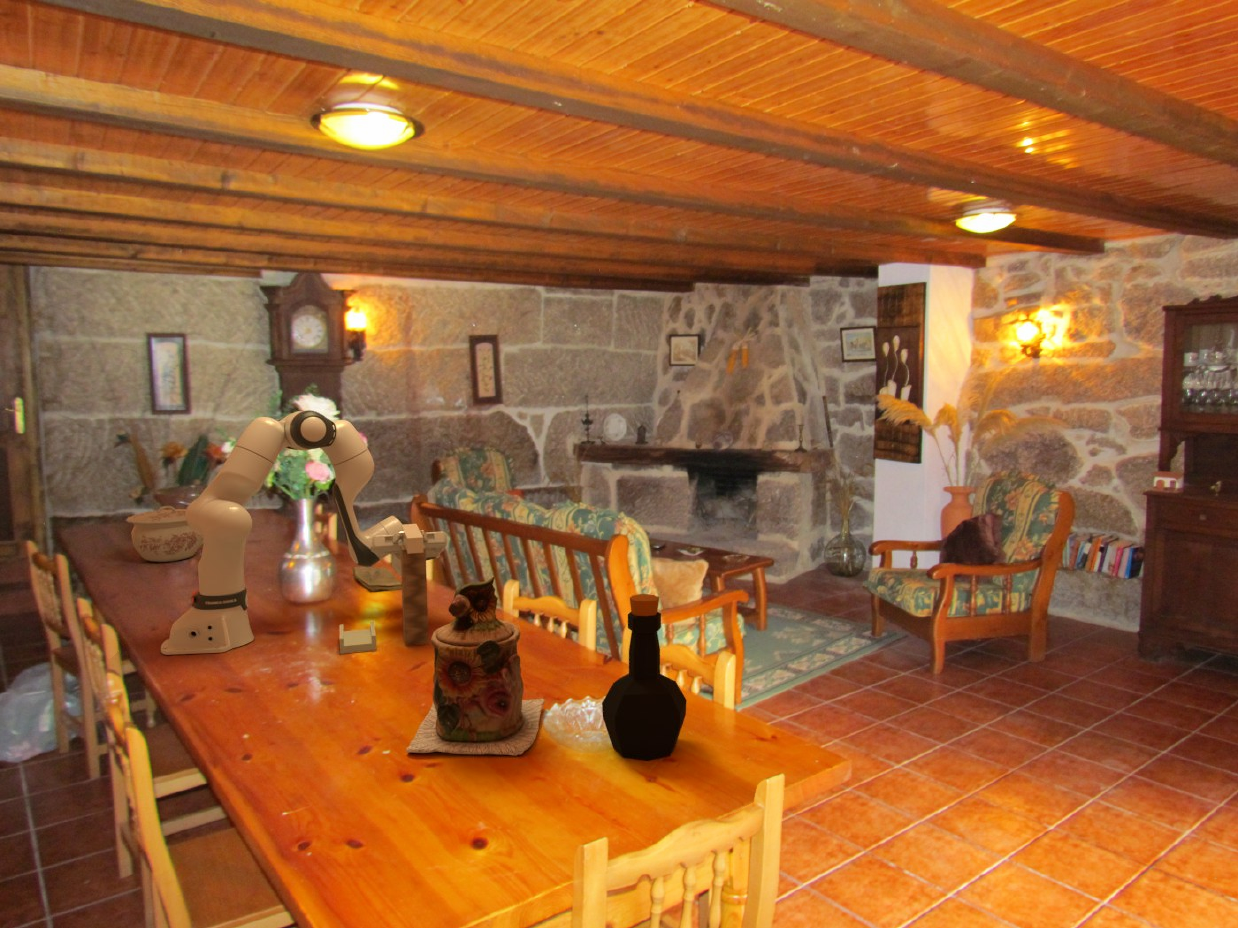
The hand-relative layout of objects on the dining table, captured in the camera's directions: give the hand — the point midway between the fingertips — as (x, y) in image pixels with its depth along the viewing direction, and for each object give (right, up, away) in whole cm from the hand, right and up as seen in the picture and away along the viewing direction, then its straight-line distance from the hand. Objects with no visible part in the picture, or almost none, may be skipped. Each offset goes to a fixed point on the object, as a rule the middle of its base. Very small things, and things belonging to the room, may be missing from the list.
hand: (410, 533), depth 236 cm
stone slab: (-27, -22, +62) cm, 71 cm away
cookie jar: (+28, -36, -59) cm, 75 cm away
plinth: (+2, -29, -2) cm, 29 cm away
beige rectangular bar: (+1, -3, -4) cm, 5 cm away
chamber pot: (-117, -18, +98) cm, 154 cm away
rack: (-13, -29, -5) cm, 32 cm away
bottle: (+62, -36, -67) cm, 98 cm away
